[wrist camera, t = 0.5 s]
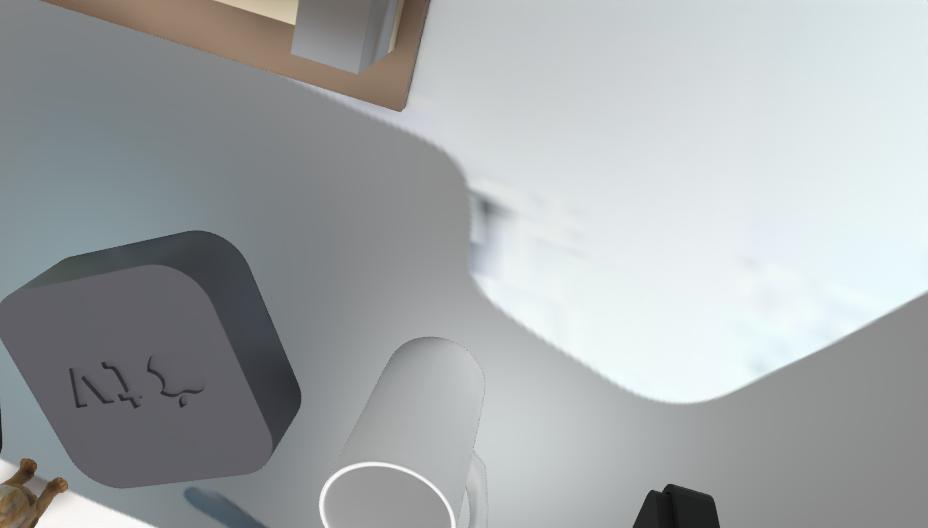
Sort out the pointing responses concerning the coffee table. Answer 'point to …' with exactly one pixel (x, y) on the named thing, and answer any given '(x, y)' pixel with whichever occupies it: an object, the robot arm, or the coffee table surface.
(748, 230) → the coffee table surface
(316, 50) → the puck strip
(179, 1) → the lane board
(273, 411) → the streaming box
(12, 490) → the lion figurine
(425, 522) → the mug
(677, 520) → the robot arm
